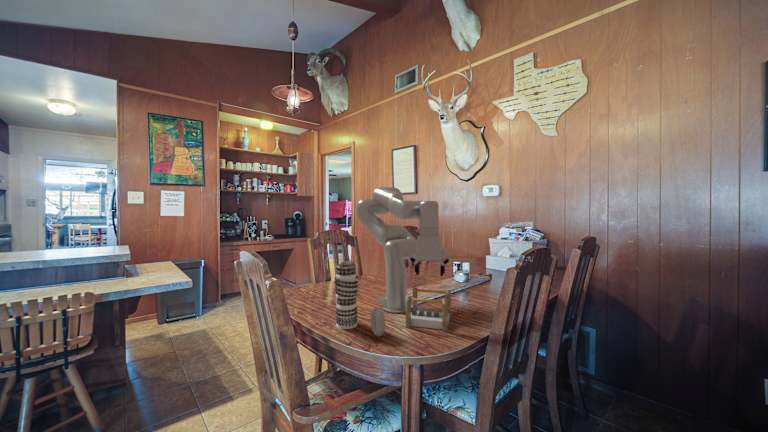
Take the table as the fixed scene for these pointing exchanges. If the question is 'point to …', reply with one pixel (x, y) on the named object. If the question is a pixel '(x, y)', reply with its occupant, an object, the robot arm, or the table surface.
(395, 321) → the table surface
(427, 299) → the cord front
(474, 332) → the table surface
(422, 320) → the breaker panel
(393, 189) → the robot arm
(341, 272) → the decorative candle
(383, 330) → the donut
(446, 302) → the cord posts
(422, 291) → the cord rear
